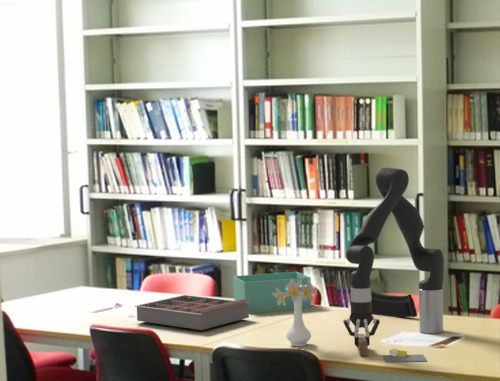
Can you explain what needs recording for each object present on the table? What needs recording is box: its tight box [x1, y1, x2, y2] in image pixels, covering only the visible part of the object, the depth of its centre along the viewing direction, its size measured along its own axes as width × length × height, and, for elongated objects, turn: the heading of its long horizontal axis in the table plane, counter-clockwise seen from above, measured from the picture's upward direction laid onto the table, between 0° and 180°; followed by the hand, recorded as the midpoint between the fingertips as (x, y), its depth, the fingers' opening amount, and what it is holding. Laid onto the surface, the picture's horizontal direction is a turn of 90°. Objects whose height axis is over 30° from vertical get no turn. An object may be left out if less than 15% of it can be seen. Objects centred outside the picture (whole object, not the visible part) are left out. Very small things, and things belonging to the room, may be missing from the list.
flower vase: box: [272, 279, 318, 347], centre depth 330 cm, size 13×18×25 cm
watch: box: [388, 348, 408, 357], centre depth 309 cm, size 6×3×6 cm
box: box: [233, 271, 312, 314], centre depth 411 cm, size 21×32×14 cm, turn 105°
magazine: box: [371, 289, 418, 318], centre depth 382 cm, size 17×3×30 cm
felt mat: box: [383, 353, 428, 363], centre depth 304 cm, size 9×14×1 cm, turn 87°
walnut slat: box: [356, 333, 369, 356], centre depth 316 cm, size 14×3×4 cm, turn 177°
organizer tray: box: [134, 294, 250, 331], centre depth 381 cm, size 32×40×10 cm
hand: (362, 346), depth 316 cm, fingers closed on walnut slat, 2 cm apart
